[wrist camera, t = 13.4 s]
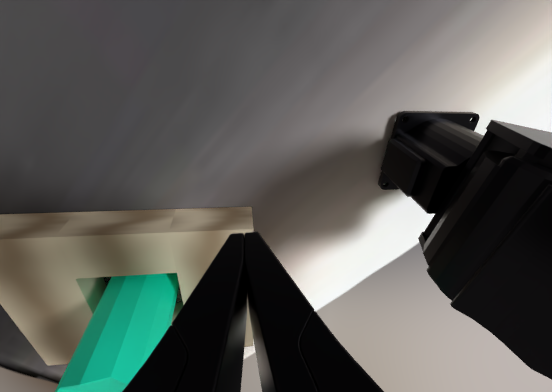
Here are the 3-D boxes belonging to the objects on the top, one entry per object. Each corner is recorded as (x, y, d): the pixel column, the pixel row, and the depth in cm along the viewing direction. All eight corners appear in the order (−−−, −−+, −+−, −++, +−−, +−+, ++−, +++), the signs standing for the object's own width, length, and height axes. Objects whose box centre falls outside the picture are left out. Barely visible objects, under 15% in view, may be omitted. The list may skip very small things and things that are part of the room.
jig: (251, 206, 23) (253, 229, 21) (251, 320, 32) (253, 345, 29) (-14, 214, 21) (-48, 241, 18) (64, 336, 29) (47, 365, 27)
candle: (193, 278, 27) (168, 430, 17) (152, 306, 28) (105, 461, 18) (142, 244, 24) (75, 405, 14) (99, 278, 25) (9, 444, 15)
